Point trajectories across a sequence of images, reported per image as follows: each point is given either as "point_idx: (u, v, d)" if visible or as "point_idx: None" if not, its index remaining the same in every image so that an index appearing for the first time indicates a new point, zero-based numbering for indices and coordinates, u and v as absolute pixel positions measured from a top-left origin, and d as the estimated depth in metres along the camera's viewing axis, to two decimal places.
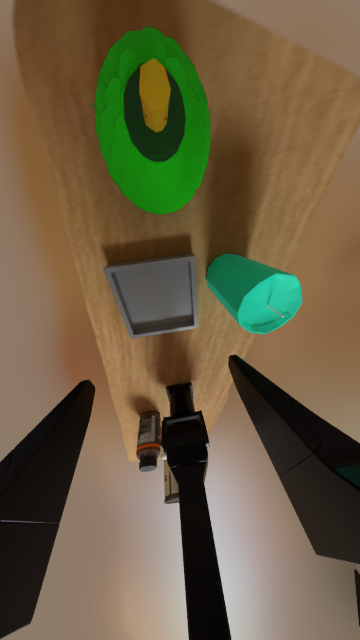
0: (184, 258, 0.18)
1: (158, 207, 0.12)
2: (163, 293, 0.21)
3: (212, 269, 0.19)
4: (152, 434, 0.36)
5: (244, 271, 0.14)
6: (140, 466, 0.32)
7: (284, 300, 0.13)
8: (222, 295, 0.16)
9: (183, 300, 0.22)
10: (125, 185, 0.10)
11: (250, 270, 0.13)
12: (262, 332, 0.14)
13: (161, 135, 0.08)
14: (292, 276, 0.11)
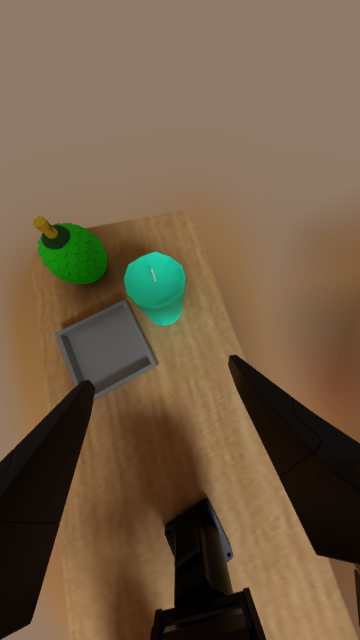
0: (117, 304, 0.22)
1: (74, 272, 0.19)
2: (112, 342, 0.22)
3: None
4: None
5: None
6: None
7: (168, 272, 0.14)
8: None
9: (134, 342, 0.22)
10: (52, 268, 0.19)
11: None
12: (164, 303, 0.13)
13: (56, 238, 0.17)
14: (153, 252, 0.14)
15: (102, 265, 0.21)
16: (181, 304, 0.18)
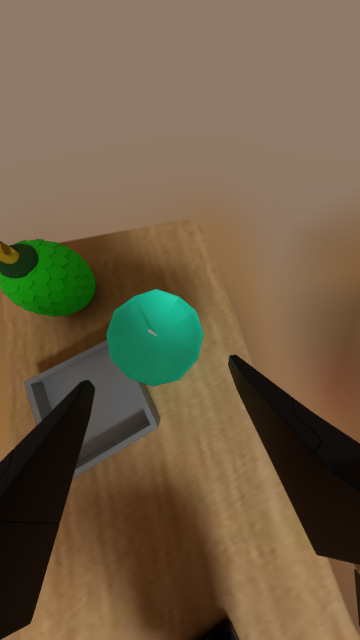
0: (106, 341, 0.17)
1: (46, 305, 0.14)
2: (101, 389, 0.17)
3: None
4: None
5: None
6: None
7: (176, 320, 0.09)
8: None
9: (128, 390, 0.17)
10: (16, 302, 0.14)
11: None
12: (170, 377, 0.08)
13: (16, 263, 0.12)
14: (153, 291, 0.09)
15: (87, 292, 0.16)
16: None
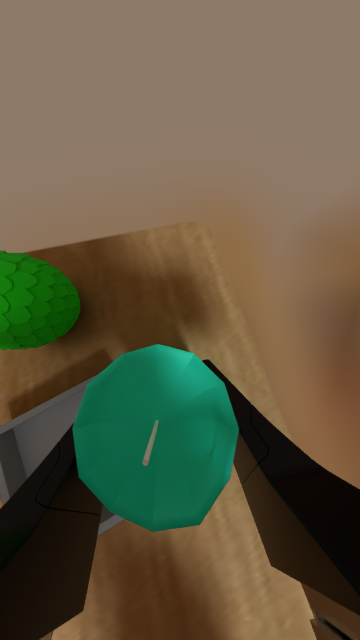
0: (93, 378, 0.13)
1: (7, 341, 0.10)
2: None
3: None
4: None
5: None
6: None
7: (189, 395, 0.06)
8: None
9: None
10: None
11: None
12: (184, 518, 0.05)
13: None
14: (153, 347, 0.06)
15: (67, 317, 0.13)
16: None
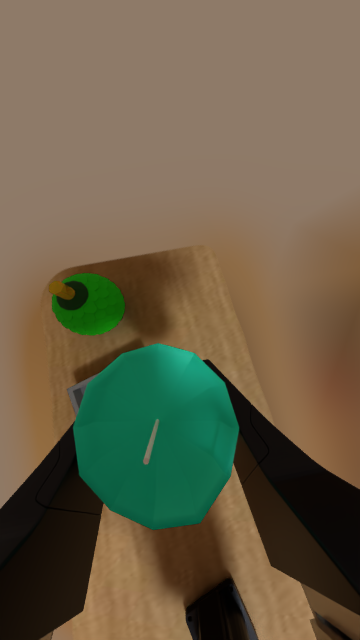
0: None
1: (91, 329, 0.17)
2: None
3: None
4: None
5: None
6: None
7: (190, 394, 0.06)
8: None
9: None
10: (67, 326, 0.17)
11: None
12: (185, 516, 0.05)
13: (73, 299, 0.15)
14: (153, 346, 0.06)
15: (120, 315, 0.19)
16: None
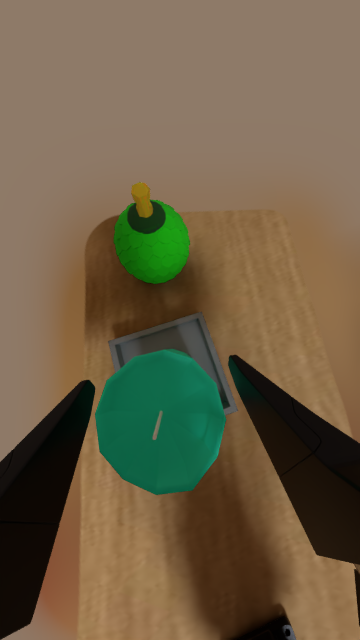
0: (191, 316, 0.17)
1: (156, 268, 0.14)
2: None
3: None
4: None
5: None
6: None
7: (188, 392, 0.07)
8: None
9: (203, 369, 0.17)
10: (129, 259, 0.14)
11: None
12: (180, 485, 0.06)
13: (149, 218, 0.12)
14: (160, 352, 0.07)
15: (184, 263, 0.16)
16: None
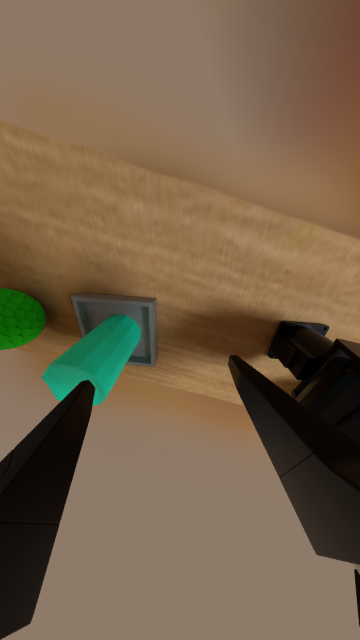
0: (74, 306, 0.20)
1: (18, 330, 0.18)
2: None
3: None
4: None
5: None
6: None
7: (68, 371, 0.13)
8: None
9: (123, 309, 0.21)
10: (12, 345, 0.18)
11: None
12: (101, 391, 0.13)
13: None
14: (43, 378, 0.13)
15: (18, 300, 0.18)
16: (115, 341, 0.17)
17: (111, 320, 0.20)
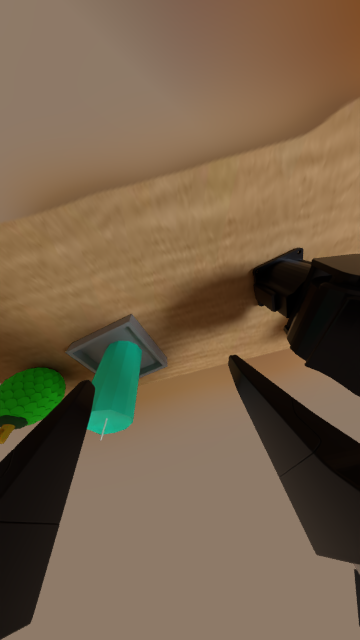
0: (73, 357, 0.22)
1: (46, 398, 0.21)
2: None
3: None
4: None
5: None
6: None
7: (93, 414, 0.15)
8: None
9: (112, 337, 0.22)
10: (51, 410, 0.22)
11: None
12: (125, 416, 0.15)
13: (11, 423, 0.19)
14: None
15: (31, 377, 0.21)
16: (117, 370, 0.18)
17: (107, 352, 0.21)
